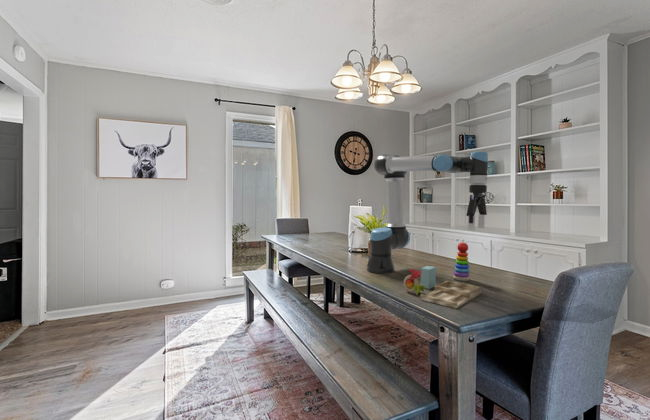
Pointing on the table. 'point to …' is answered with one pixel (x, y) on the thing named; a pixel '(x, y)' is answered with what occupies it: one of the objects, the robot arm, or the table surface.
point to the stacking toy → (462, 263)
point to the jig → (452, 294)
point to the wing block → (428, 277)
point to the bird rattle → (410, 282)
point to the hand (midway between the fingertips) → (476, 229)
